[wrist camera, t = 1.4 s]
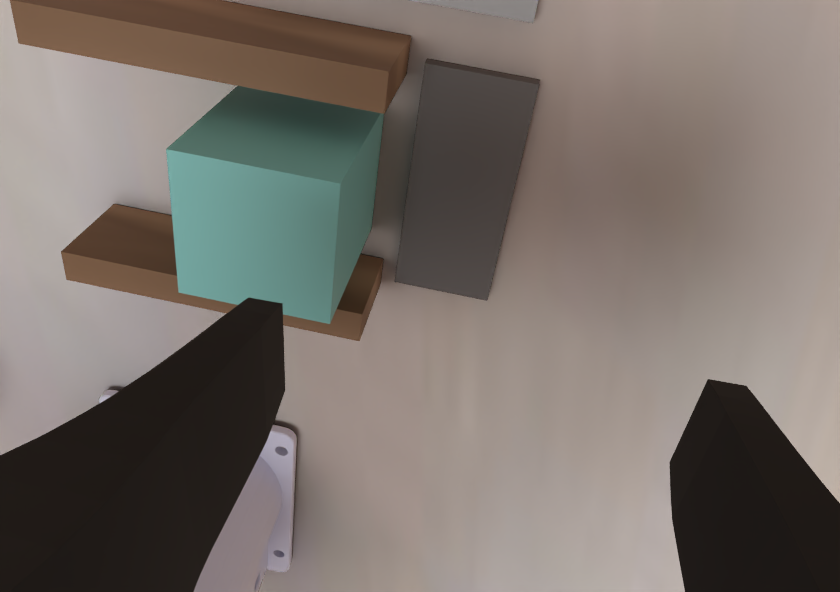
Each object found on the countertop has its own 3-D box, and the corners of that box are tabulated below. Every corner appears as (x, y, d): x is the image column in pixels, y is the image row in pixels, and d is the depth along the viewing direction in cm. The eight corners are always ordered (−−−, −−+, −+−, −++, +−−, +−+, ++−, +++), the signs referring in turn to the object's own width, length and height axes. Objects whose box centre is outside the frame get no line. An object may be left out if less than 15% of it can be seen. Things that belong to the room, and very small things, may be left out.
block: (371, 227, 22) (329, 324, 18) (247, 202, 22) (178, 292, 18) (385, 104, 19) (340, 183, 15) (246, 78, 20) (166, 149, 16)
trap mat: (488, 293, 22) (487, 300, 22) (397, 274, 23) (394, 281, 22) (539, 79, 18) (538, 84, 18) (427, 58, 18) (425, 62, 18)
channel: (380, 284, 23) (359, 341, 20) (117, 230, 23) (66, 279, 21) (411, 35, 18) (388, 71, 16) (81, -26, 19) (10, -1, 16)
